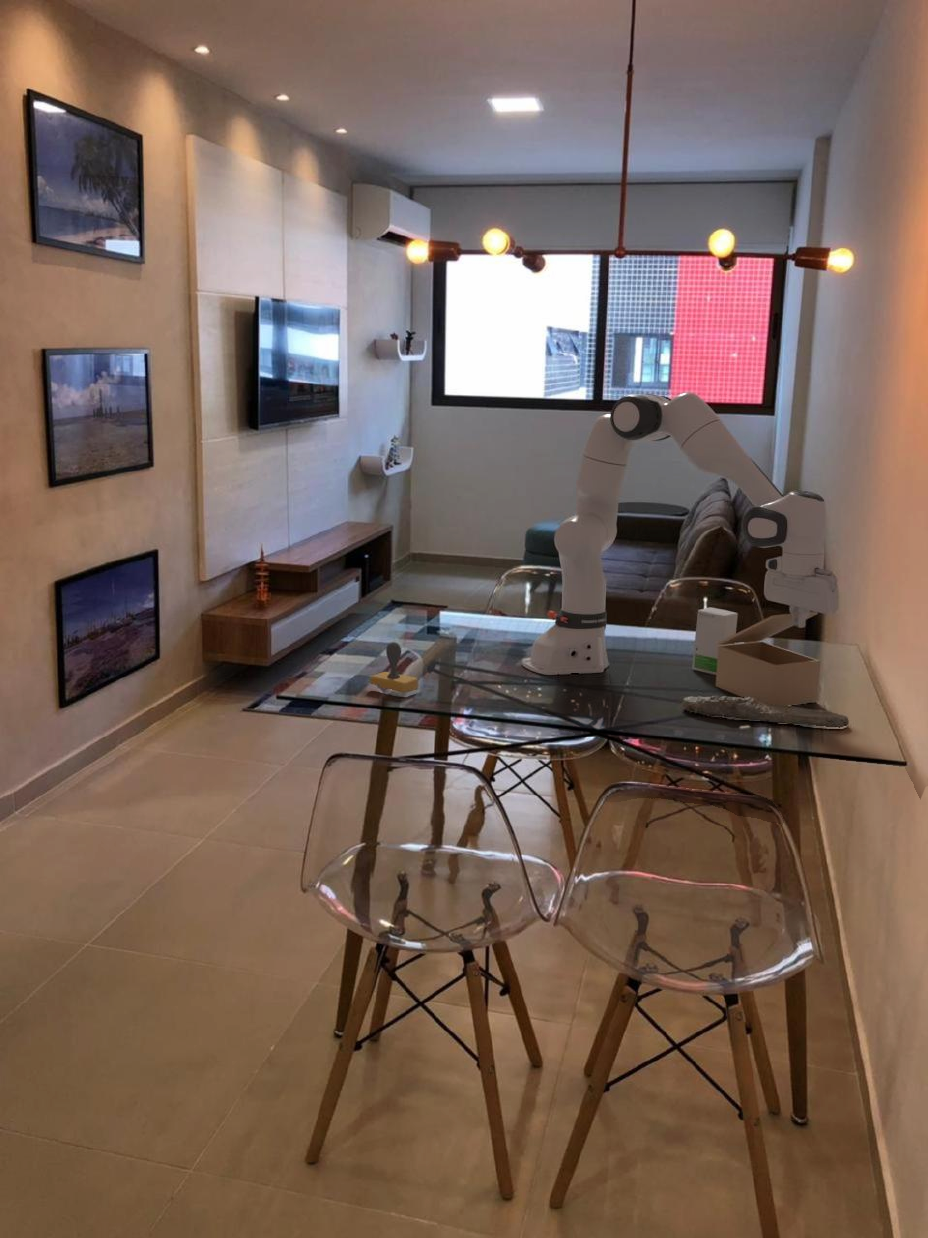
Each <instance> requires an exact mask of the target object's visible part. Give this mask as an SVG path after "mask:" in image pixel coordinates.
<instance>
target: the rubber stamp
mask: <svg viewBox="0 0 928 1238" xmlns="http://www.w3.org/2000/svg"><path fill="white" fill-rule="evenodd" d="M385 651H386V656H387V659H388V663H389V665H390V672H389V671H382V672H379V673H377V674H374V675H370V676H369V684H370V683H371V684H375V685H377V686H380V687H382V688H388V689H392V690H396V691H399V692H402V693H405V692H410V691H413V690H418V691H419V679H418V677H413V676H409V675H403V674H399V673H398V672H397V667H398V665H399V662H400V659H401V655H402V647H401V645H400V644H399V643H398V642H396V641H392V642H389V643H388V645H387V646H386V650H385Z"/></svg>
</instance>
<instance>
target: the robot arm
mask: <svg viewBox="0 0 928 1238" xmlns="http://www.w3.org/2000/svg"><path fill="white" fill-rule="evenodd" d="M668 438H671V439H673V440H674V441H675V443H676V444H677V446H678V447H679V449H680V450H681V451H682V453H683V454H684V455H685V456H686V457H685V458H686V459H688V461H689V462H690V463H691V464H692V465H693V466H694V467H696V468H697V470H699V471H700V472H703V473H705V474H709V475H714V476H717V477H720V478H723V479H725V480H728V481H729V482H731V483H733V484H734V485H735V486H737V487H738V488H739V489H740V490H741V492H742V493H743V495H745V496H746V497H747V499H748V500H749V501H750V502H751V503H752V505H753V506H754V507H752V508H751V509H749V510H747V511H746V512H745V514H744V515H743V517H742V520H741V524H740V526H741V533H742V536H743V538H744V540H745V541H746V542H747V543H748V544H749V545H750V546H751V545H752V546H753V547H757V548H760V549H761V548H763V549H765V548H771V547H777V546H779V547H781V548H782V555H781V556H777V557H773V558H769V559H766V561H765V568H766V569H767V571H766V572H765V576H764V584H763V585H764V586H763V594H764V595H763V596H764V597H765V599H766V600H767V601H771V602H775V603H778V604H783V605H787V606H789V607H788V608H789V609H788V610H789V614H791V616H792V618H793V621H792V625H793V626H792V627H796V628H800V629H801V628H805V627H806V620H808V619H807V617H808V616H809V614H810V612H818V613H820V614H824V615H828V614H836V613H837V612H838V610H839V605H840V603H839V602H840V599H839V597H840V596H839V594H840V593H839V585H838V577H837V576H836V574H835V573H834V572H833V570H830V569H828V570H827V569H824V564H825V547H824V539H825V537H826V535H827V534H826V533H827V506H826V505H827V504H826V501H825V499H824V497H822V496H821V495H819V494H817V493H815V492H811V491H806V490H792V491H790V492H789V493H788V494H786V495H784V494H783V493H782V492H781V491H780V490H779V489H778V488H777V487H776V485H775V484H774V483H773V482H772V481H771V480H770V479H769V477H768V476H767V474H765V472H763V470H762V469H761V468H760V467H759V465H757V463H756V462H755V461H754V460H753V459H752V458H751V457H750V455H748V453H747V452H746V451H745V449H744V448H743V447H742V446H741V445H740V444H739V442H738V441H737V440H736V438H735V437H734V436H733V435H732V433H731V431H730V430H729V429H728V428H727V426H726V425H725V424H724V423H723V421H722V419H721V418H720V417H719V415H717V413H716V412H715V411H714V410H713V408H711V406H709V405H708V403H707V402H705V401H704V400H703V399H702V398H701V397H700V396H699V395H698V394H696V393H693V392H683V393H681V394H678V395H676V396H674V397H673V398H672V399H671V398H670V397H667V396H664V395H657V394H653V393H645V394H644V393H643V394H639V393H638V394H637V393H632V394H627V395H625V396H623V397H621V398H619V399H618V400H617V401H616V402H615V403H614V404H613V406H612V408H611V410H610V413H607V414H603V415H600V416H598V417H597V418H596V420H595V421H594V422H593V424H592V427H591V430H590V431H589V434H588V437H587V440H586V443H585V447H584V449H583V453H582V454H583V455H582V457H581V462H580V467H579V471H578V475H577V478H576V482H575V489H576V508H575V513H574V515H573V516H569V517H568V518H565V519H564V520H563V521H562V523H561V524H559V526H558V527H557V529H556V531H555V533H554V537H553V541H554V546H555V549H556V550H557V552H558V558H559V563H560V568H561V569H560V570H561V579H562V587H561V588H562V589H561V608H560V610H559V611H558V612H556V611H554V610H549V611H548V612H547V617H548V619H550V620H555V621H554V624H553V625H552V626H551V627H550V628H549V629H547V630H546V631H544V632H543V633H542V634H541V635H540V636H538V638H536V639H535V640H534V642H533V644H532V647H531V653H530V657H526V658H523V659H522V660H521V665H522V666H523V667H524V668H525V669H527V670H529V671H532V672H534V673H537V674H542V675H545V676H557V675H558V674H559V675H572V674H571V673H579V674H595V673H596V674H597V673H599V674H600V673H603V672H604V670H605V669H607V668H608V667H609V666H610V662H609V659H608V654H607V647H606V632H605V631H606V629H607V610H606V595H607V594H606V593H607V580H606V577H605V574H604V568H603V561H602V554H603V552H605V551H606V550H608V549H609V548H610V547H611V545H613V543H614V541H615V539H616V537H617V532H618V528H617V521H618V514H619V501H620V494H621V490H622V485H623V481H624V478H625V474H626V469H627V467H628V466H627V465H628V461H629V457H630V453H631V450H632V448H633V446H634V445H635V444H636V443H638V442H644V443H645V442H646V443H647V442H654V441H655V442H659V441H663V440H666V439H668Z"/></svg>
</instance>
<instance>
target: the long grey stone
mask: <svg viewBox="0 0 928 1238" xmlns="http://www.w3.org/2000/svg"><path fill="white" fill-rule="evenodd" d="M681 707H682V708H683V709H684V710H686V711H687V712H688V711H690V712H689V713H692V712H695V713H694V714H696V713H700V714H699V715H701V714H703V715H702V716H704V715H709V716H721V717H722V716H724V717H735V718H741V719H751V720H758V721H759V720H760V721H764V722H770V723H772V722H774V723H773V724H775V722H776V723H777V724H778V723H787V724H808V725H816V726H826V727H839V728H840V727H843V726H847V725H848V726H849V723H850V721H849V720H850V719H849V717H847V716H846V715H844V714H839V713H837V712H836V713H834V712H832V711H828V710H822V709H813V708H805V707H804V708H803V707H799V706H779V705H772V704H769V703H764V702H759V701H756V700H755V699H754V698H751V697H745V698H743V697H741V696H739V697H738V696H737V697H736V696H727V695H724V696H719V695H712V696H694V695H692V696H691V695H690V696H686V697H684V698H683V699H682V703H681Z"/></svg>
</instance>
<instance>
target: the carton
mask: <svg viewBox="0 0 928 1238" xmlns="http://www.w3.org/2000/svg"><path fill="white" fill-rule="evenodd" d="M820 669H821V660H820V659H817V658H814V657H811V656H807V655H805V654H802V653H798V652H795V651H792V650H789V649H787V648H783V647H780V646H777V645H775V644H771V643H768V642H765V641H763V640H762V641H752V642H743V643H735V644H732V645H722V646H718V659H717V673H716V675H715V677H716V678H715V687H717V688H719V689H722V690H724V691H726V692H729V693H731V694H734V695H736V696H737V697H738V696H739V697H740V698H743V697H744V698H745V697H751V698H754V699H755V700H756V701H759V702H764V703H769V704H772V705H779V706H788V705H793V704H798V703H804V702H810V701H817V700H818V693H819V692H818V691H819V681H820V679H819V678H820ZM817 702H818V701H817Z"/></svg>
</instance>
